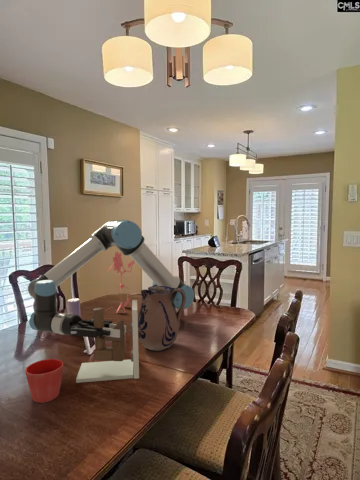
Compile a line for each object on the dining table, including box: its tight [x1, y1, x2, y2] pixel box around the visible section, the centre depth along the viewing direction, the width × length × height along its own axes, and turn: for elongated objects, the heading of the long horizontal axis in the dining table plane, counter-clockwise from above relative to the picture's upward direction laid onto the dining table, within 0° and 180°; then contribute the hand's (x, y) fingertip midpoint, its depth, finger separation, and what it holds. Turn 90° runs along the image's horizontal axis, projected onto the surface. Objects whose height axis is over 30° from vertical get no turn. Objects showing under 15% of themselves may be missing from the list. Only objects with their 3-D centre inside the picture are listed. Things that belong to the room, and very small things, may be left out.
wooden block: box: [92, 307, 126, 361], centre depth 113 cm, size 4×11×18 cm, turn 78°
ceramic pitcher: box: [138, 285, 186, 352], centre depth 136 cm, size 18×21×25 cm
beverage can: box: [66, 297, 81, 317], centre depth 158 cm, size 6×6×15 cm
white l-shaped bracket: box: [75, 299, 140, 384], centre depth 114 cm, size 21×13×24 cm, turn 98°
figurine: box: [105, 251, 135, 314], centre depth 188 cm, size 15×26×35 cm, turn 164°
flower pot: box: [24, 358, 64, 404], centre depth 100 cm, size 11×11×10 cm
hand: (122, 331), depth 112 cm, fingers closed on wooden block, 3 cm apart
